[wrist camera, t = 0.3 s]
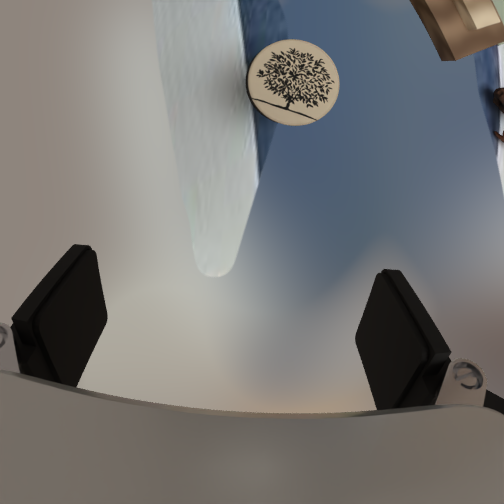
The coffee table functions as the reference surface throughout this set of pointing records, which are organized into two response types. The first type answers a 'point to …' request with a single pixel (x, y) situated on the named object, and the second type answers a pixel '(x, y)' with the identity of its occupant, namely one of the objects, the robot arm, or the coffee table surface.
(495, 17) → the maple tile
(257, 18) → the coffee table surface
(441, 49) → the walnut board
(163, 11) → the coffee table surface
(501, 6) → the rubber mat
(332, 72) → the beige canister
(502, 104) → the pottery mug
